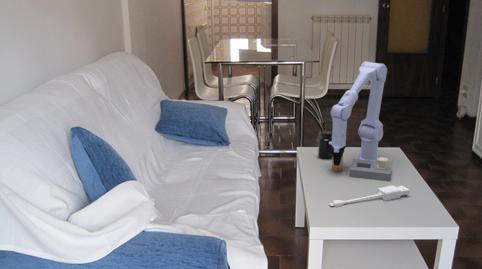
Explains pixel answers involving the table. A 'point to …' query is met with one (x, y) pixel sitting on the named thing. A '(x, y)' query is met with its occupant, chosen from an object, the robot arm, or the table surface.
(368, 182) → the table surface
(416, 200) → the table surface
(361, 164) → the board with square hole
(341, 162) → the brown wooden block
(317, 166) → the table surface
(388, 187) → the charging cable
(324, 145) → the supplement bottle
